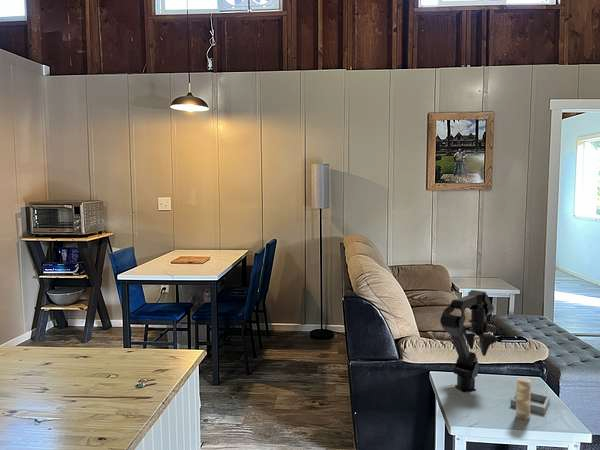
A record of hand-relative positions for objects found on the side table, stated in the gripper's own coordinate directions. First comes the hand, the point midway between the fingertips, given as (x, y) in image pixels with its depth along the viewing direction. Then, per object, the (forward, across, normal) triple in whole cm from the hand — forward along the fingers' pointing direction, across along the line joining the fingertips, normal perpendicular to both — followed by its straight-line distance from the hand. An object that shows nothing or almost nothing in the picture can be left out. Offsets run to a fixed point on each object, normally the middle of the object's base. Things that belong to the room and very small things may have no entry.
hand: (477, 352), depth 204 cm
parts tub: (+13, -26, -6) cm, 30 cm away
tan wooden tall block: (+13, -34, +4) cm, 37 cm away
